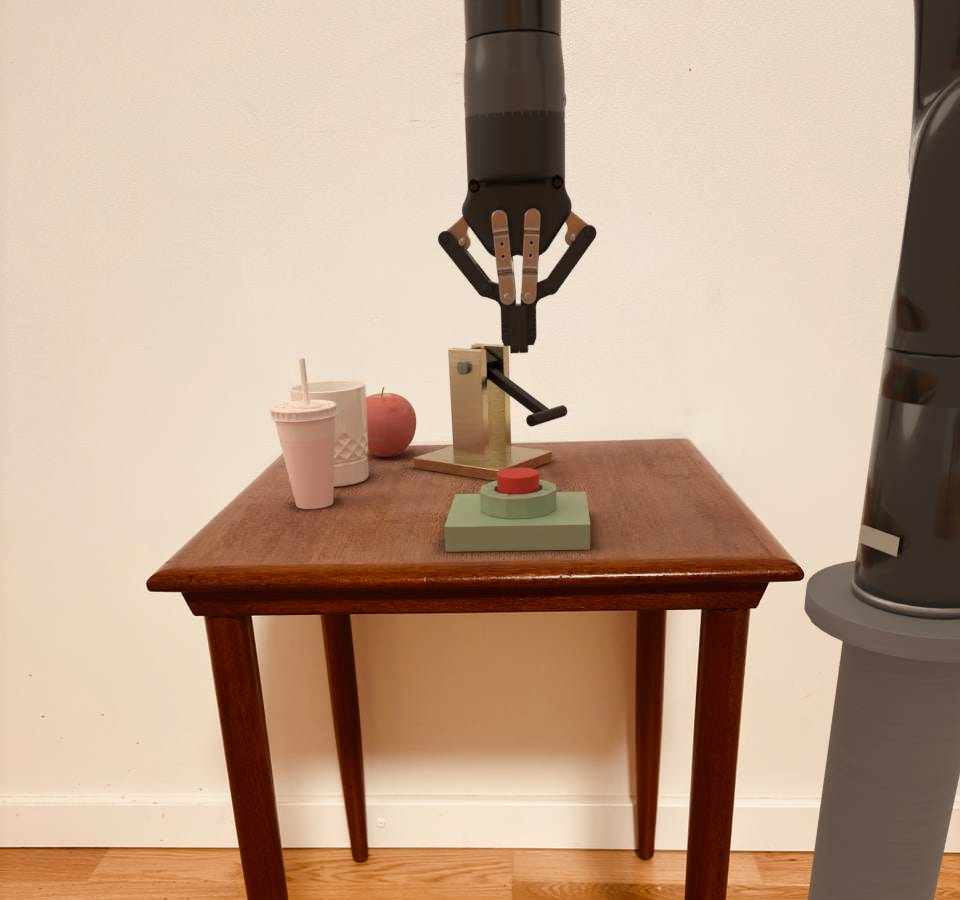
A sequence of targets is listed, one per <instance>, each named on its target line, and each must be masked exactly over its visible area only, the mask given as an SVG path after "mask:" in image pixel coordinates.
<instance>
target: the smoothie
mask: <svg viewBox="0 0 960 900" xmlns="http://www.w3.org/2000/svg"><path fill="white" fill-rule="evenodd" d="M298 364H299V373H300V381H301V383H300V384H302V391H303V400H300V401H292V400H291V401H286V402H281V403H277V404H275V405H271V407H270V408H269V412H270V419H271V420H272V421H274V424H275V428H276V432H277V436H278V440H279V444H280V447H281V451H282V457H283V460H284V463H285V467H286V471H287V475H288V478H289V483H290V487H291V491H292V495H293V499H294V503H295V506H296V508H299V509H301V510H316V509H318V510H319V509H323V508H327V507H329V506H332V505H333V504H334V495H335V494H334V493H335V492H334V491H335V490H334V489H335V487H334V434H335V416H336V415H337V414H338V412H337V406H336V403H335V402H333V401H328V400H309V392H308V375H307V366H306V365H307V364H306V358H302V357H301V358H298Z"/></svg>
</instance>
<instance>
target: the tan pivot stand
mask: <svg viewBox="0 0 960 900" xmlns="http://www.w3.org/2000/svg"><path fill="white" fill-rule="evenodd" d="M470 346H471V347H470V348H475V347H481V348H483V349H484V350H483V349H470V348H463V347H451V348H448V349H447V356H448V357H447V358H448V373H449V377H448V378H449V393H450V394H449V395H450V413H451V415H450V416H451V432H452V445H450V446H446V447H444V448H440V449H437V450H434V451H431V452H430V451H429V452H427V453H425V454H420V455H418V456H414V457H413V458H412V459H413V467H414V469H418V470H423V471H430V472H437V473H441V474H442V473H443V474H449V475H456V476H461V477H468V478H473V479H479V480H480V479H481V480H487V481H492V482H493V481H497V473H498V472H499V471H501V470H504V469H509V468H531V469H536V468H539V467H542V466H544V465H547V464H549V463H552V462H553V456H552V455H553V451H552V450H544V449H537V448H529V447H523V446H521V447H520V446H513V445H512V423H511V421H512V420H511V396H510V395H508V394H507V393H506V392H504V391H503V390H502V389H500V388H499V387H498V386H497V385H495V384H494V383H493V382H491V381H490V380H487V365H486V351H487V352H488V353H489V354H491V355H492V356H493V357H495V358H496V359H497V360H498V362H497V364H496V367H495V369H497V370H498V371H499V372H501V373H502V374H503V375H505V376H506V377H507V378H509V379H510V346H504V345H503V344H499V343H497V344H495V343H479V342H477V343H472V344H471V345H470Z"/></svg>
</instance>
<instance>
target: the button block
mask: <svg viewBox="0 0 960 900" xmlns="http://www.w3.org/2000/svg"><path fill="white" fill-rule="evenodd" d="M587 495H588V494H587V491H557V484H555V483H553V482H551V481H548V480H546V479H545V480H544V479H539V491H538V492H535V493H529V494H518V495H509V494H502V493H498V491H497V481H493V480H492V481H491V482H487V483H485V484H484V485H481V486H480V489H479V493H455V495H454V498H453V500H452V503H451V506H450V508H449V512H448V515H447V518H446V521H445V524H444V527H443V530H444V549H445V552H446V553H455V552H457V553H458V552H459V553H460V552H461V553H462V552H522V551H523V552H525V551H527V552H528V551H529V552H530V551H532V552H533V551H534V552H535V551H589V550H591V517H590V511H589V502H588V496H587Z"/></svg>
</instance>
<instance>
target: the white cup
mask: <svg viewBox="0 0 960 900" xmlns="http://www.w3.org/2000/svg"><path fill="white" fill-rule="evenodd" d="M307 383H308V392H309V400H328V401H333V402H335V403H336V406H337V412H338V414H337V415H336V416H335V434H334V488H335V487H337V488H338V487H346V486H351V485H357V484H359V483H362V482H365V481H366V480H367V479H368V478H369V477H370V476H369V475H370V474H369V473H370V472H369V457H368V453H369V452H368V423H367V403H366V397H367V385H366V383H365V382H364V381H362V380H355V379H328V380H327V379H326V380H317V381H310V382H308V381H307ZM289 394H290V399H291V401H300V400H303V391H302V383H299V384H295V385H293V386H291V387H289Z"/></svg>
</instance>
